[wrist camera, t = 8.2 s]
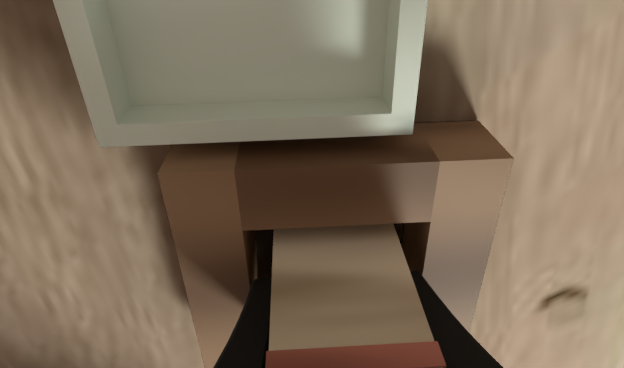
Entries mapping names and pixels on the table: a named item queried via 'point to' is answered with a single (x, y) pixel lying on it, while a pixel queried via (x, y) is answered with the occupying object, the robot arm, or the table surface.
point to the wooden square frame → (333, 209)
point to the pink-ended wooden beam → (346, 301)
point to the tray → (244, 68)
